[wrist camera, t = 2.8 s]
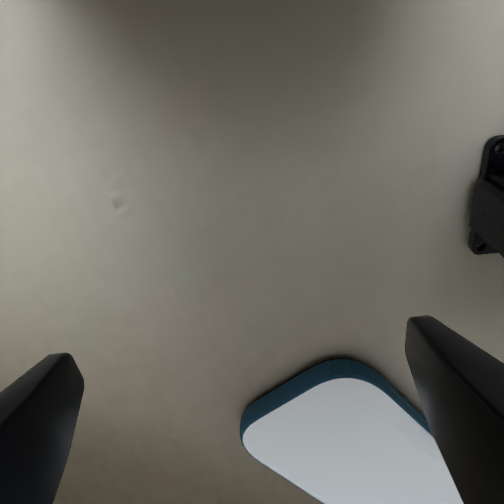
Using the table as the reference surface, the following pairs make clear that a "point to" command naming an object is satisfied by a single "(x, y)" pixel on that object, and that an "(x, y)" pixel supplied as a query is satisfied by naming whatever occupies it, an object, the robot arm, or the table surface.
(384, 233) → the table surface
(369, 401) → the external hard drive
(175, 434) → the table surface
